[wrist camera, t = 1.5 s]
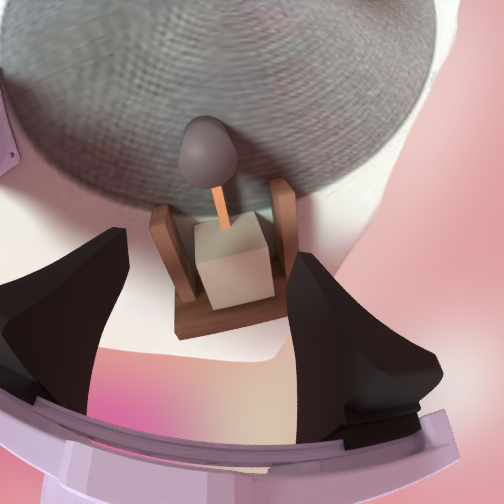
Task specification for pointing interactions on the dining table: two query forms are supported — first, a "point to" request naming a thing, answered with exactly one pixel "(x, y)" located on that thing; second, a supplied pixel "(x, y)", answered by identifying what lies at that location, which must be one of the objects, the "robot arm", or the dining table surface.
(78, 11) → the dining table surface
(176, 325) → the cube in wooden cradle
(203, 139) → the multicoloured piece
